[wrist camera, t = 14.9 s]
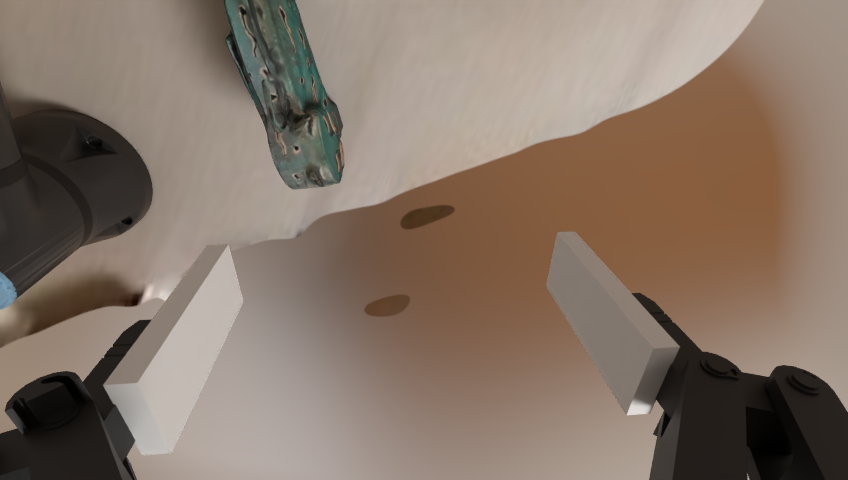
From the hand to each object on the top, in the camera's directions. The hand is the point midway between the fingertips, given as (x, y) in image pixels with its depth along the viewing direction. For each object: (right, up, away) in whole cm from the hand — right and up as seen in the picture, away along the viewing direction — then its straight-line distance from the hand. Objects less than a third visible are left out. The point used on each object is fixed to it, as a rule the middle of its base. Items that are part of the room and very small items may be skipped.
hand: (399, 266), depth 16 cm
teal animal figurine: (-12, +21, +27) cm, 36 cm away
